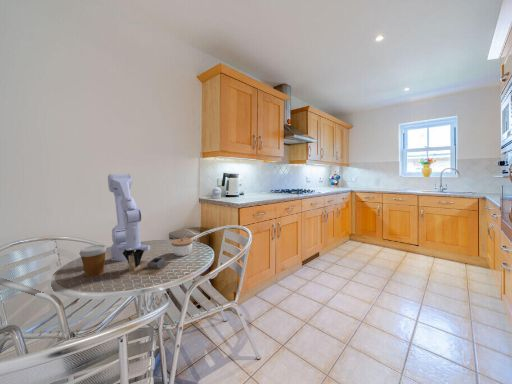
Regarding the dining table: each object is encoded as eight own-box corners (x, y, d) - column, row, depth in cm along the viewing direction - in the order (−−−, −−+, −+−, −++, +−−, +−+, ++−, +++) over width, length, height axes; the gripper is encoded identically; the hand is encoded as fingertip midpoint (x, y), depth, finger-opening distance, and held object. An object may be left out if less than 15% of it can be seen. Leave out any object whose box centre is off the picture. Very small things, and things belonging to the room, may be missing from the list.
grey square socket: (144, 268, 98) (144, 263, 98) (153, 262, 105) (153, 257, 105) (159, 269, 98) (159, 263, 98) (167, 262, 105) (166, 257, 105)
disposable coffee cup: (94, 280, 89) (92, 252, 88) (75, 279, 90) (73, 251, 89) (113, 270, 98) (111, 245, 97) (95, 269, 100) (93, 244, 99)
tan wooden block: (129, 270, 96) (128, 255, 96) (135, 266, 100) (134, 252, 100) (134, 270, 96) (133, 255, 96) (139, 267, 100) (139, 252, 99)
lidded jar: (186, 259, 111) (185, 241, 110) (167, 258, 113) (167, 240, 112) (196, 252, 121) (195, 236, 121) (179, 251, 123) (178, 235, 123)
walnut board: (116, 275, 94) (116, 273, 94) (136, 262, 108) (136, 260, 107) (156, 276, 92) (156, 274, 92) (171, 263, 106) (171, 261, 106)
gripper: (111, 238, 93) (113, 268, 95) (143, 239, 92) (144, 269, 94) (122, 234, 100) (124, 262, 102) (152, 234, 99) (153, 263, 101)
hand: (134, 265), depth 98 cm, fingers closed on tan wooden block, 2 cm apart
